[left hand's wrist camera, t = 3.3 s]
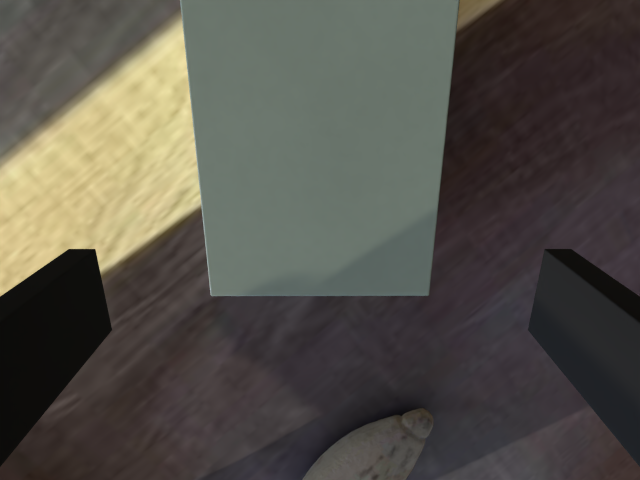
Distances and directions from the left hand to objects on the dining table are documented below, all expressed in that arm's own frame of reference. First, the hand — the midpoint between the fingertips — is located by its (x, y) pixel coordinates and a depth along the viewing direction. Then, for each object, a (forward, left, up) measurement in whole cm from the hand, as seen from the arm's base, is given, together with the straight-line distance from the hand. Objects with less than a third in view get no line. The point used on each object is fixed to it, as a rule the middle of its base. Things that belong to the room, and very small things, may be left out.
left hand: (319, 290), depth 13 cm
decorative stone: (-22, -9, -16) cm, 29 cm away
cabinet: (+4, +1, -16) cm, 16 cm away
